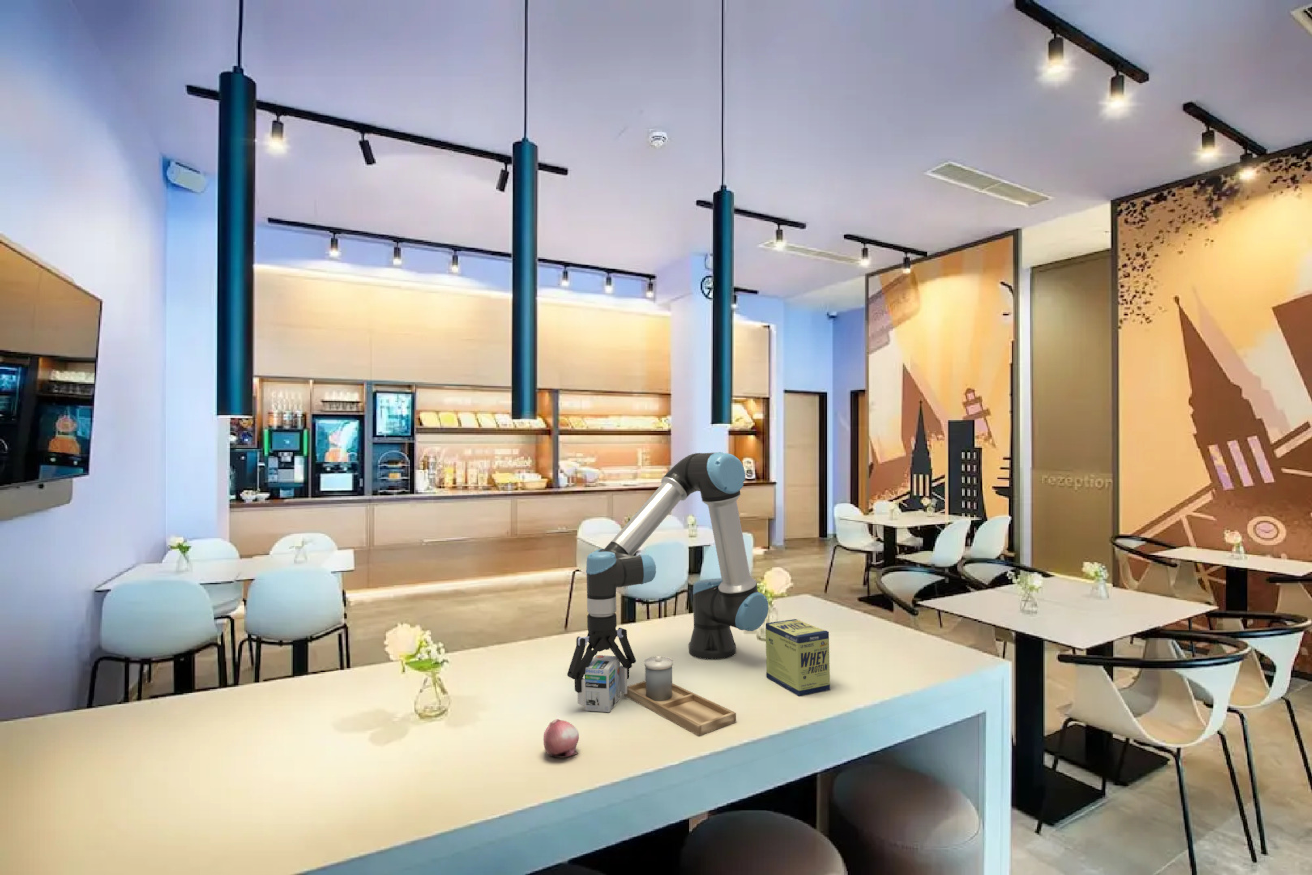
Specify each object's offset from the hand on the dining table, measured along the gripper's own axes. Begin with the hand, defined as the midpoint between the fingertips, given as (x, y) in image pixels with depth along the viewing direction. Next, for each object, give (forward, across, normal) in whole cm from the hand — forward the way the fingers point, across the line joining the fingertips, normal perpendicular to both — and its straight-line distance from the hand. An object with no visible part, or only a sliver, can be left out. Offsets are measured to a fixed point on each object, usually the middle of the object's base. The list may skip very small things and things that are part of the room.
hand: (603, 698), depth 159 cm
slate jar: (+1, -13, +7) cm, 15 cm away
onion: (+2, +21, +17) cm, 27 cm away
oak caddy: (+1, -13, +14) cm, 19 cm away
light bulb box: (+2, 0, 0) cm, 2 cm away
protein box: (+2, -49, +22) cm, 54 cm away
